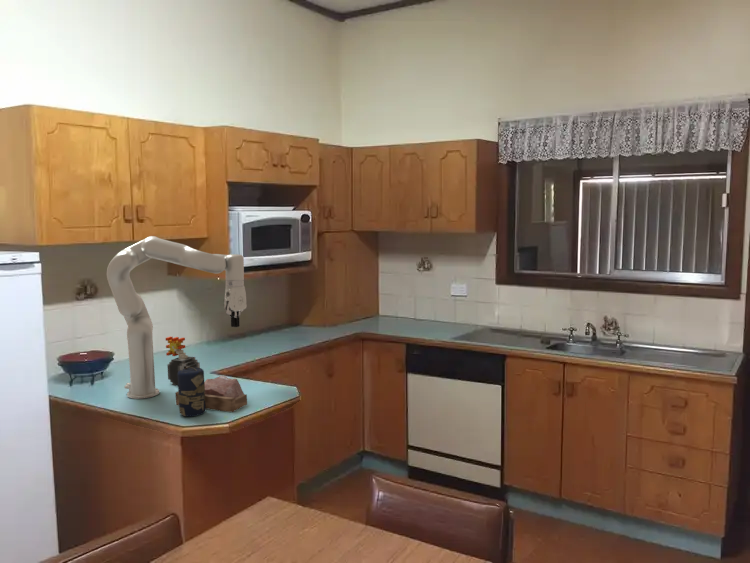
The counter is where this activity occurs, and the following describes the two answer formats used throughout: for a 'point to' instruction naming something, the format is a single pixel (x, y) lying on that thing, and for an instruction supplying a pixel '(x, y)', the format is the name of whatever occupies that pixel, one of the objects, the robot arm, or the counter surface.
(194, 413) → the canister
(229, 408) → the stop cradle
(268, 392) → the counter surface
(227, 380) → the stone
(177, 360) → the bomb
